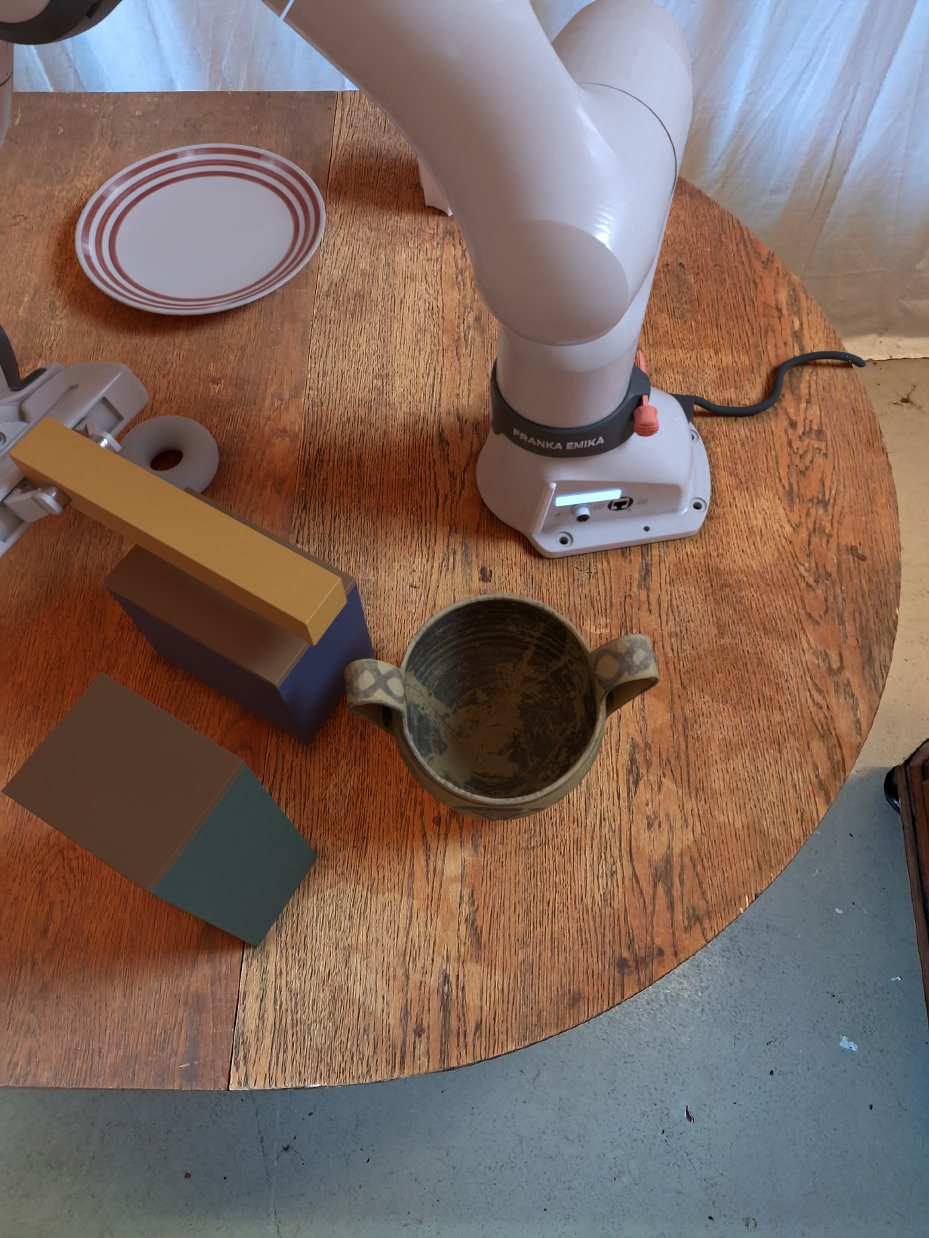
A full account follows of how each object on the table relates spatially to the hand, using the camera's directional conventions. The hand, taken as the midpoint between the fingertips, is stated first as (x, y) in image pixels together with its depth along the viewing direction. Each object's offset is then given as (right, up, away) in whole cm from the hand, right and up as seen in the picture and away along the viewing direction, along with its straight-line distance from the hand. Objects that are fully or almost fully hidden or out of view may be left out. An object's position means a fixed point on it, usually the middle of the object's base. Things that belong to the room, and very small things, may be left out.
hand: (84, 472), depth 64 cm
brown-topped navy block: (+10, -14, +15) cm, 23 cm away
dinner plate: (-2, +32, +37) cm, 49 cm away
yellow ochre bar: (+7, -5, 0) cm, 8 cm away
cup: (+26, +40, +41) cm, 63 cm away
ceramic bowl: (+30, -21, +11) cm, 38 cm away
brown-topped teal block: (+9, -30, +7) cm, 32 cm away
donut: (-1, +4, +24) cm, 24 cm away
